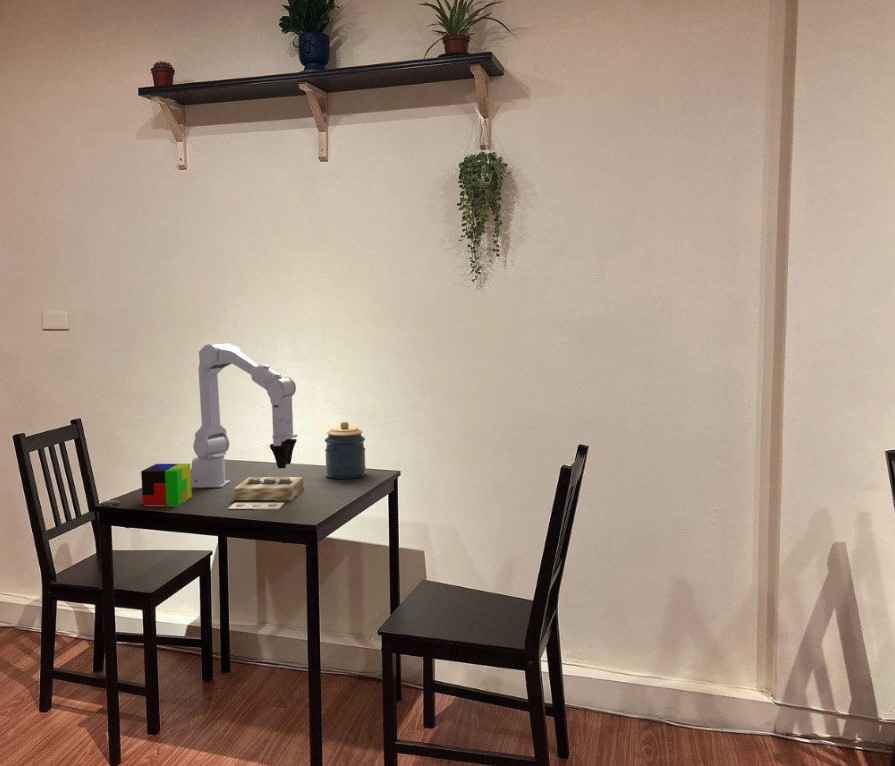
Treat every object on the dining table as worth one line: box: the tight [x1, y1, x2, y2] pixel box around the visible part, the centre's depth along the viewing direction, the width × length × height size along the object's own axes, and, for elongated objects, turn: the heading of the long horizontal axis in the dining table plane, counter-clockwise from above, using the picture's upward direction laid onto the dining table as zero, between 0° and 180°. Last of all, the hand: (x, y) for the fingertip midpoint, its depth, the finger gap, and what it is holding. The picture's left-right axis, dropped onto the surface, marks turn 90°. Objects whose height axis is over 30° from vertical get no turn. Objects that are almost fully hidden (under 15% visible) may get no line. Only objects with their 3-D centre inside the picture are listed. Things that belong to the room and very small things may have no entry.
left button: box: [249, 478, 260, 484], centre depth 221 cm, size 3×3×2 cm
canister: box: [324, 420, 367, 480], centre depth 245 cm, size 13×13×18 cm
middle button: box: [264, 478, 275, 484], centre depth 221 cm, size 3×3×2 cm
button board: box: [233, 476, 304, 501], centre depth 221 cm, size 16×14×4 cm
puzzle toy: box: [140, 463, 193, 506], centre depth 214 cm, size 10×10×10 cm
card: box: [227, 502, 285, 510], centre depth 208 cm, size 14×6×1 cm, turn 88°
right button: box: [279, 478, 290, 484], centre depth 221 cm, size 3×3×2 cm
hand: (284, 466), depth 220 cm, fingers open, 5 cm apart
